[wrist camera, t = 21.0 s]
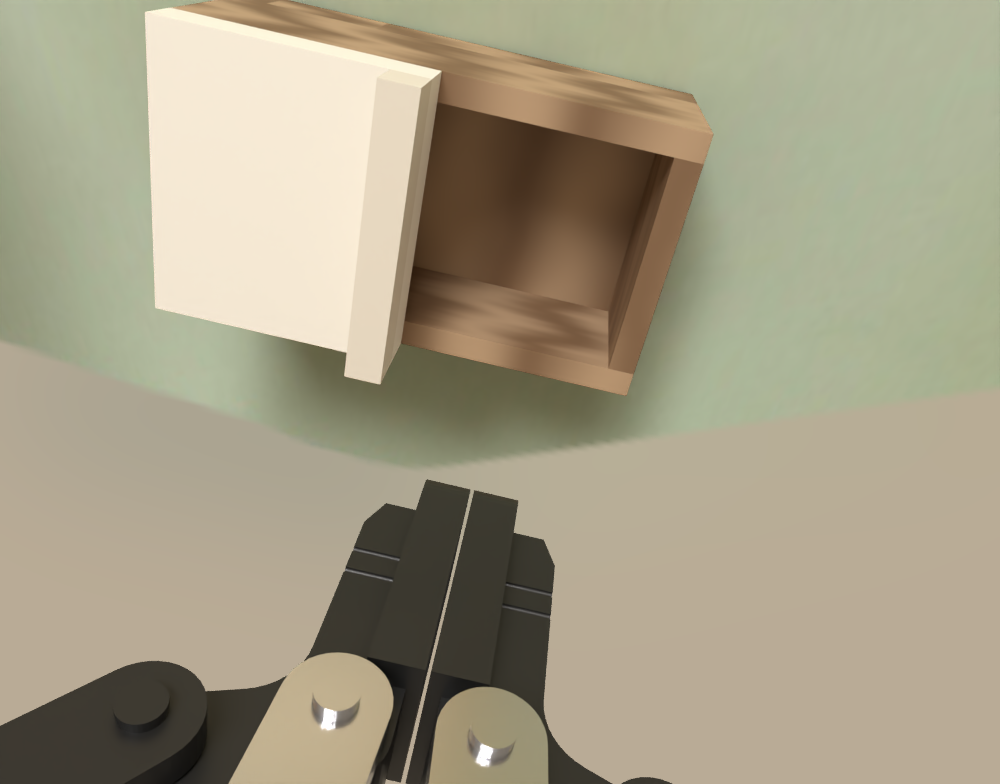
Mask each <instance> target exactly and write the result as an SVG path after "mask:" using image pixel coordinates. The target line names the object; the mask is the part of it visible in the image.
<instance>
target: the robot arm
mask: <svg viewBox="0 0 1000 784" xmlns="http://www.w3.org/2000/svg"><path fill="white" fill-rule="evenodd" d="M469 494H470V489H466V488H461V487H457V486H453V485H448V484H444V483H440V482H436V481H431V480H426V482H425V485H424V488H423V491H422V494H421V497H420V500H419V503H418V506H417V509H416V510H413V509H408V508H404V507H400V506H395V505H391V504H387V503H386V504H385V505H384V506H383V507H381V508H380V509H379V510H378V511H377V512H375V513H374V514H373V515H372V516H371V517H369V518H368V519H367V520H366V521H365V522H364V524H363V526H362V529H361V531H360V534H359V536H358V538H357V541H356V543H355V546H354V550H353V551H352V553H351V556H350V558H349V560H348V563H347V565H346V569H345V572H343V575H342V577H341V580H340V582H339V585H338V587H337V589H336V592H335V594H334V597H333V600H332V602H331V604H330V606H329V609H328V611H327V614H326V616H325V618H324V621H323V623H322V626H321V628H320V631H319V633H318V635H317V638H316V640H315V643H314V645H313V647H312V649H311V651H310V653H309V655H308V656H307V658H306V659H305V660H304V662H302V663H300V664H299V665H298V666H297V667H295V668H294V669H293V670H292V671H291V672H290V673H289V674H288V675H287V676H285V677H284V678H282V679H280V680H278V681H276V682H273V683H271V684H268V685H264V686H260V687H256V688H249V689H237V690H221V691H207V692H205V689H204V686H203V685H202V683H201V681H200V680H199V679H198V678H197V677H196V676H195V674H193V673H192V672H191V671H189V670H188V669H186V668H184V667H182V666H180V665H177V664H173V663H170V662H162V661H147V662H140V663H135V664H131V665H128V666H125V667H122V668H120V669H117V670H115V671H113V672H111V673H109V674H107V675H105V676H103V677H101V678H99V679H97V680H94V681H93V682H90V683H88V684H86V685H84V686H82V687H80V688H78V689H76V690H74V691H72V692H70V693H67V694H65V695H64V696H61V697H59V698H57V699H55V700H53V701H51V702H49V703H47V704H45V705H43V706H41V707H39V708H37V709H34V710H32V711H30V712H28V713H26V714H24V715H22V716H20V717H18V718H16V719H14V720H12V721H10V722H7V723H5V724H3V725H1V726H0V784H385V781H386V779H388V780H392V781H397V782H401V779H402V775H403V771H404V767H405V763H406V758H407V754H408V750H409V746H410V742H411V738H412V734H413V730H414V725H415V721H416V717H417V713H418V709H419V705H420V701H421V696H422V693H423V689H424V684H425V680H426V676H427V672H428V668H429V664H430V660H431V656H432V652H433V647H434V643H435V639H436V635H437V631H438V627H439V622H440V619H441V614H442V610H443V606H444V602H445V598H446V594H447V590H448V586H449V581H450V577H451V572H452V569H453V564H454V560H455V555H456V551H457V546H458V542H459V538H460V534H461V529H462V525H463V520H464V516H465V512H466V507H467V503H468V498H469ZM517 506H518V500H513V499H509V498H505V497H501V496H496V495H492V494H488V493H483V492H479V491H474V494H473V498H472V503H471V507H470V511H469V515H468V519H467V524H466V528H465V532H464V536H463V540H462V545H461V549H460V553H459V557H458V561H457V566H456V570H455V574H454V578H453V582H452V587H451V591H450V595H449V599H448V604H447V608H446V612H445V616H444V621H443V625H442V629H441V633H440V637H439V641H438V646H437V650H436V654H435V658H434V662H433V666H432V671H431V675H430V679H429V684H428V688H427V693H426V697H425V701H424V705H423V710H422V714H421V718H420V723H419V727H418V731H417V736H416V740H415V744H414V749H413V753H412V758H411V762H410V767H409V771H408V775H407V779H406V784H612V783H610V782H608V781H607V780H605V779H603V778H601V777H600V776H598V775H596V774H595V773H593V772H591V771H589V770H587V769H586V768H584V767H583V766H581V765H580V764H578V763H577V762H575V761H574V760H573V759H572V758H570V757H569V756H568V755H567V754H566V753H565V752H564V751H563V749H562V748H561V747H560V746H559V745H558V743H557V742H556V741H555V739H554V738H553V736H552V734H551V732H550V730H549V728H548V725H547V722H546V719H545V715H544V689H545V677H546V665H547V652H548V641H549V628H550V615H551V605H552V598H551V596H552V592H553V580H554V567H555V565H554V563H553V561H552V559H551V556H550V554H549V551H548V549H547V547H546V544H545V542H544V540H542V539H538V538H533V537H529V536H525V535H520V534H516V533H513V532H514V526H515V519H516V513H517ZM622 784H672V783H669V782H667V781H664V780H661V779H656V778H650V777H640V778H635V779H631V780H628V781H626V782H623V783H622Z"/></svg>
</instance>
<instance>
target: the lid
mask: <svg viewBox="0 0 1000 784" xmlns="http://www.w3.org/2000/svg"><path fill="white" fill-rule="evenodd" d="M145 27H146V55H147V84H148V113H149V141H150V170H151V198H152V227H153V255H154V284H155V308H158V309H162V310H166V311H170V312H175V313H179V314H183V315H188V316H192V317H196V318H200V319H205V320H209V321H213V322H218V323H222V324H226V325H230V326H235V327H239V328H243V329H248V330H252V331H256V332H260V333H265V334H269V335H273V336H278V337H282V338H286V339H290V340H295V341H299V342H303V343H308V344H312V345H316V346H320V347H325V348H329V349H333V350H338V351H342V352H346V353H347V355H346V364H345V373H344V376H345V377H349V378H354V379H358V380H362V381H367V382H371V383H375V384H379V385H380V384H381V382H382V380H383V378H384V376H385V374H386V372H387V370H388V368H389V366H390V364H391V362H392V360H393V358H394V356H395V354H396V352H397V350H398V348H399V346H400V344H401V340H402V333H403V327H404V320H405V313H406V307H407V300H408V293H409V287H410V280H411V273H412V267H413V260H414V253H415V247H416V240H417V233H418V227H419V220H420V213H421V207H422V200H423V193H424V187H425V180H426V173H427V167H428V160H429V153H430V147H431V140H432V133H433V127H434V120H435V113H436V107H437V100H438V93H439V87H440V80H441V73H442V71H440V70H435V69H431V68H427V67H423V66H418V65H414V64H410V63H405V62H401V61H397V60H393V59H388V58H384V57H380V56H375V55H371V54H367V53H363V52H358V51H354V50H350V49H345V48H341V47H337V46H333V45H328V44H324V43H320V42H315V41H311V40H307V39H303V38H298V37H294V36H290V35H286V34H281V33H277V32H273V31H268V30H264V29H260V28H256V27H251V26H247V25H243V24H238V23H234V22H230V21H226V20H221V19H217V18H213V17H208V16H204V15H200V14H196V13H191V12H187V11H183V10H178V9H174V8H166V9H160V10H154V11H148V12H145Z"/></svg>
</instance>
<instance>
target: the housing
mask: <svg viewBox="0 0 1000 784" xmlns="http://www.w3.org/2000/svg"><path fill="white" fill-rule="evenodd" d="M173 8H174V9H178V10H183V11H187V12H191V13H196V14H200V15H204V16H208V17H213V18H217V19H221V20H226V21H230V22H234V23H238V24H243V25H247V26H251V27H256V28H260V29H264V30H268V31H273V32H277V33H281V34H286V35H290V36H294V37H298V38H303V39H307V40H311V41H315V42H320V43H324V44H328V45H333V46H337V47H341V48H345V49H350V50H354V51H358V52H363V53H367V54H371V55H375V56H380V57H384V58H388V59H393V60H397V61H401V62H405V63H410V64H414V65H418V66H423V67H427V68H431V69H435V70H440V71H442V73H441V80H440V87H439V93H438V100H437V107H436V113H435V120H434V127H433V133H432V140H431V147H430V153H429V160H428V167H427V173H426V180H425V187H424V193H423V200H422V207H421V213H420V220H419V227H418V233H417V240H416V247H415V253H414V260H413V267H412V273H411V280H410V287H409V293H408V300H407V307H406V313H405V320H404V327H403V333H402V340H401V343H402V344H406V345H410V346H415V347H419V348H423V349H428V350H432V351H436V352H440V353H445V354H449V355H453V356H458V357H462V358H466V359H470V360H475V361H479V362H483V363H488V364H492V365H496V366H500V367H505V368H509V369H513V370H518V371H522V372H526V373H530V374H535V375H539V376H543V377H547V378H552V379H556V380H560V381H565V382H569V383H573V384H577V385H582V386H586V387H590V388H595V389H599V390H603V391H607V392H612V393H616V394H620V395H625V396H626V395H627V392H628V389H629V386H630V383H631V380H632V377H633V374H634V371H635V368H636V365H637V362H638V359H639V356H640V353H641V350H642V347H643V344H644V341H645V338H646V335H647V332H648V329H649V326H650V323H651V320H652V317H653V314H654V311H655V308H656V305H657V302H658V299H659V296H660V293H661V290H662V287H663V284H664V281H665V278H666V275H667V272H668V269H669V266H670V263H671V260H672V257H673V254H674V251H675V248H676V245H677V242H678V239H679V236H680V233H681V230H682V227H683V224H684V221H685V219H686V216H687V213H688V210H689V207H690V204H691V201H692V198H693V195H694V192H695V189H696V186H697V183H698V180H699V177H700V174H701V171H702V168H703V165H704V162H705V159H706V156H707V153H708V150H709V147H710V144H711V141H712V138H713V135H714V134H713V132H712V131H711V129H710V127H709V125H708V123H707V121H706V119H705V117H704V116H703V114H702V112H701V110H700V108H699V106H698V104H697V102H696V101H695V99H694V97H693V95H692V94H688V93H684V92H679V91H675V90H671V89H666V88H662V87H658V86H654V85H649V84H645V83H641V82H636V81H632V80H628V79H624V78H619V77H615V76H611V75H606V74H602V73H598V72H594V71H589V70H585V69H581V68H576V67H572V66H568V65H564V64H559V63H555V62H551V61H547V60H542V59H538V58H534V57H529V56H525V55H521V54H517V53H512V52H508V51H504V50H499V49H495V48H491V47H487V46H482V45H478V44H474V43H469V42H465V41H461V40H457V39H452V38H448V37H444V36H439V35H435V34H431V33H427V32H422V31H418V30H414V29H409V28H405V27H401V26H397V25H392V24H388V23H384V22H379V21H375V20H371V19H367V18H362V17H358V16H354V15H349V14H345V13H341V12H337V11H332V10H328V9H324V8H319V7H315V6H311V5H307V4H302V3H298V2H294V1H289V0H214V1H208V2H202V3H196V4H191V5H185V6H179V7H173Z"/></svg>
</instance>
